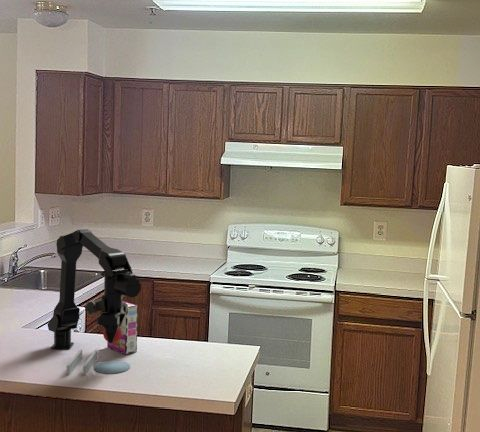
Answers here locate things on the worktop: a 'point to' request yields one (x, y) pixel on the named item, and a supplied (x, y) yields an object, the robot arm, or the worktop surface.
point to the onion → (117, 335)
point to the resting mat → (112, 367)
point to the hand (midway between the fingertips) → (112, 339)
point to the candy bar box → (127, 332)
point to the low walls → (78, 358)
